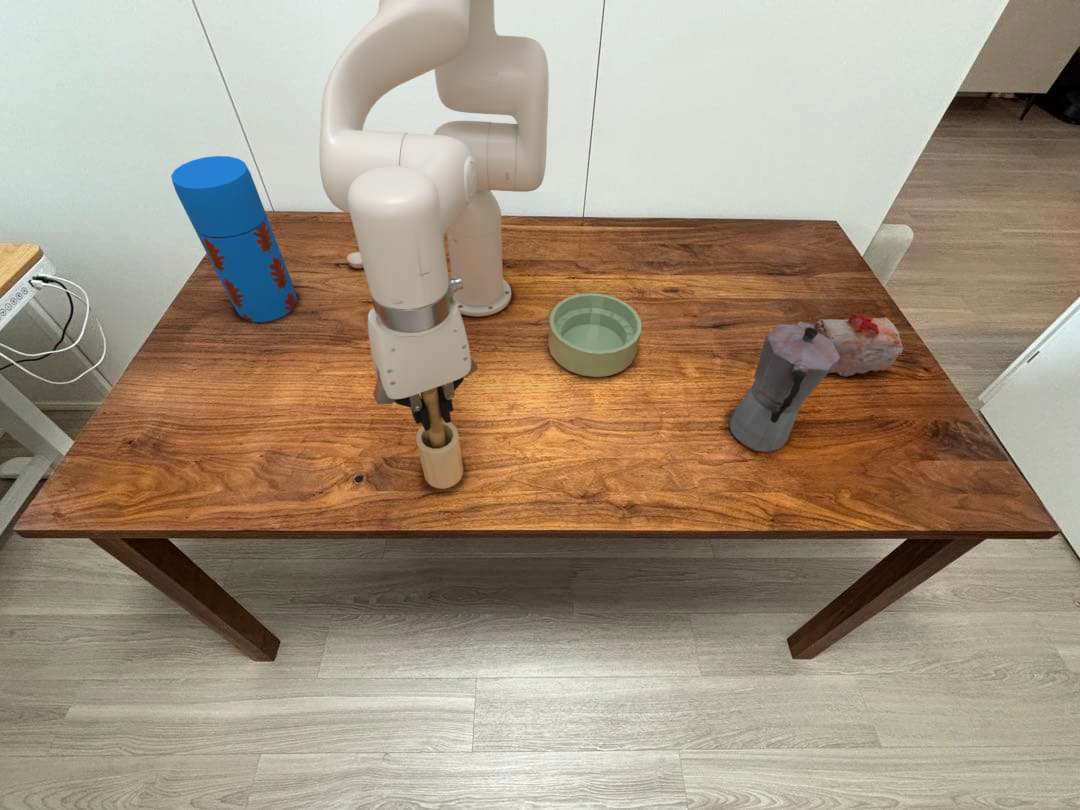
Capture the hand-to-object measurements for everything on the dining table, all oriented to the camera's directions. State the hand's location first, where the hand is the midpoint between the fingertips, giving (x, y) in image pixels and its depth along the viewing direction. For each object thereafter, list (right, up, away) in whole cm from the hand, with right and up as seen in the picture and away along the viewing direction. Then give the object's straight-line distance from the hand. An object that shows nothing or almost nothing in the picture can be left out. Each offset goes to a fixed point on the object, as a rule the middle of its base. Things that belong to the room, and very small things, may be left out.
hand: (433, 418), depth 67 cm
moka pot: (+47, -3, +17) cm, 50 cm away
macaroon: (-23, +30, +42) cm, 57 cm away
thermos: (-37, +20, +33) cm, 54 cm away
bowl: (+22, +12, +28) cm, 38 cm away
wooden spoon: (0, -8, +9) cm, 12 cm away
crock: (0, -8, +10) cm, 13 cm away
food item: (+66, +9, +27) cm, 72 cm away
